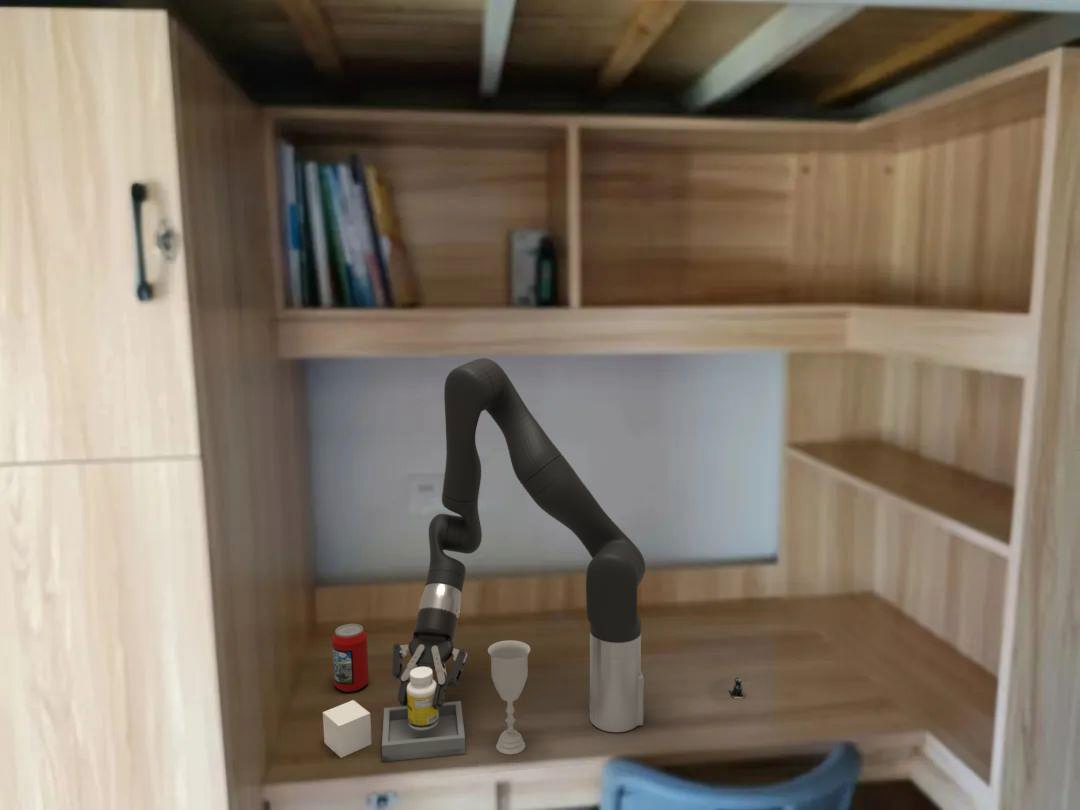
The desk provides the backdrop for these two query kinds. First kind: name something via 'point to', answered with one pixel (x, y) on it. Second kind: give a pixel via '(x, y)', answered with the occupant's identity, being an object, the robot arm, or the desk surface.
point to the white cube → (347, 728)
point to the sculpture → (737, 689)
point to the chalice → (509, 686)
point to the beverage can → (350, 657)
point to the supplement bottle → (421, 699)
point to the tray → (422, 734)
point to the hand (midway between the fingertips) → (419, 706)
